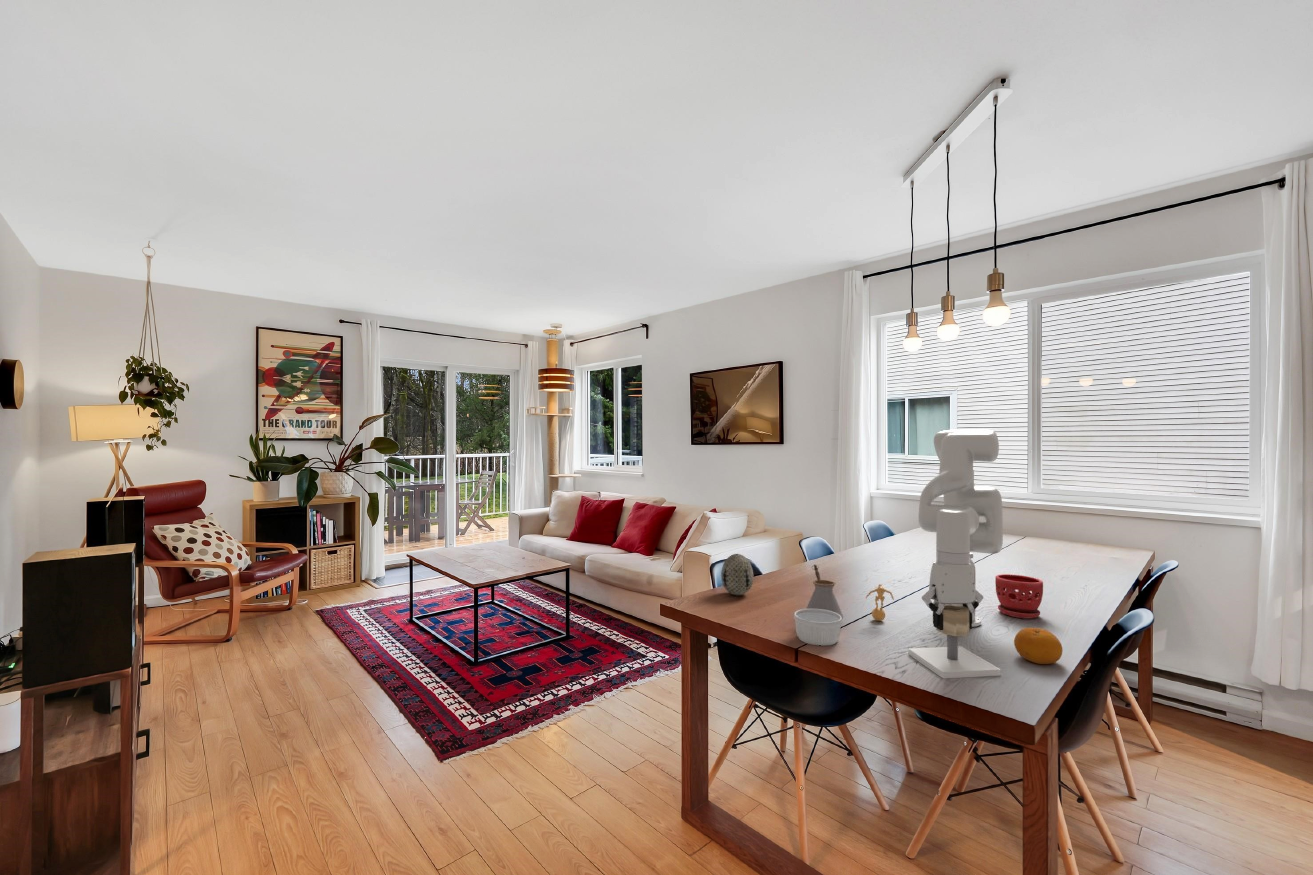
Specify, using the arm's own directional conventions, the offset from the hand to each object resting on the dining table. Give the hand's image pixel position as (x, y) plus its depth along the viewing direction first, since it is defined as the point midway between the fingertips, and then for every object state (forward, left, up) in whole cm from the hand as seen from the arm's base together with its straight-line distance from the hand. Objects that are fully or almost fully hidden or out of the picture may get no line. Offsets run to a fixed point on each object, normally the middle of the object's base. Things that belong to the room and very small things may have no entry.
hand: (952, 627), depth 142 cm
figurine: (-33, -2, -10) cm, 35 cm away
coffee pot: (-38, -19, -10) cm, 44 cm away
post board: (0, 0, -9) cm, 9 cm away
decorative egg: (-67, -39, -10) cm, 78 cm away
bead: (0, 0, -1) cm, 1 cm away
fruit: (0, +24, -10) cm, 26 cm away
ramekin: (-21, -27, -10) cm, 36 cm away
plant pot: (-35, +47, -10) cm, 60 cm away
